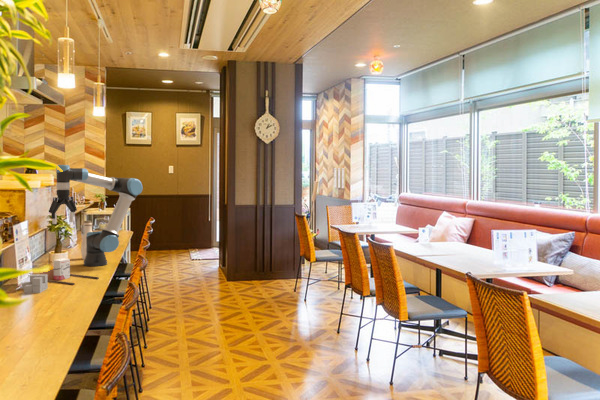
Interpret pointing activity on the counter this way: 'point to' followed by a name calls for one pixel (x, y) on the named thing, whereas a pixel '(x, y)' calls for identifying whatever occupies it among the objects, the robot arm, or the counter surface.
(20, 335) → the counter surface
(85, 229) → the water bottle
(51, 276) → the end stop
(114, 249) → the robot arm
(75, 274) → the guide rails
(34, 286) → the puzzle cube
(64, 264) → the ink box
